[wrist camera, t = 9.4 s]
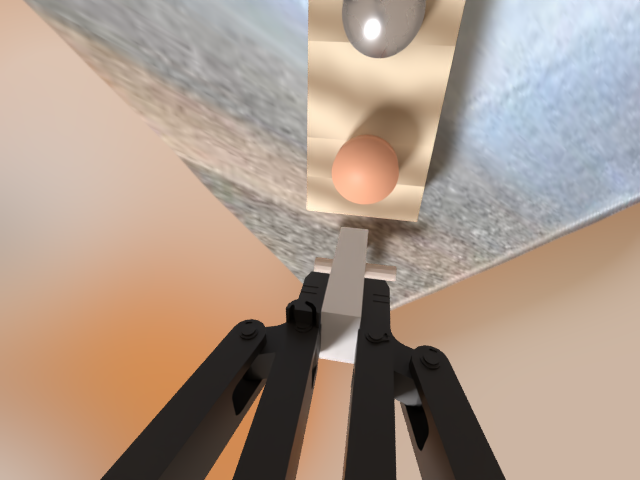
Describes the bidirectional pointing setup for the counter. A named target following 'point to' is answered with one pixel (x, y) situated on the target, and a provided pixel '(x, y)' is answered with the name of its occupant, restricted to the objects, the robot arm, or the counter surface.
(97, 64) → the counter surface
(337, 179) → the terracotta plunger
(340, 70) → the panel housing
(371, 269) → the pipe connector
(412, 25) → the grey shiny disc
